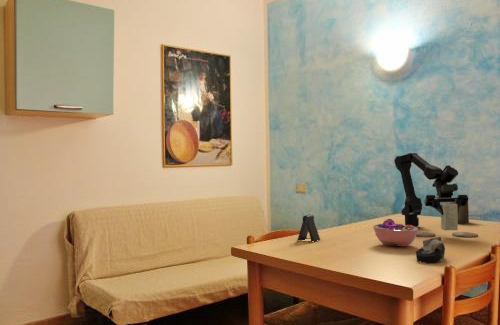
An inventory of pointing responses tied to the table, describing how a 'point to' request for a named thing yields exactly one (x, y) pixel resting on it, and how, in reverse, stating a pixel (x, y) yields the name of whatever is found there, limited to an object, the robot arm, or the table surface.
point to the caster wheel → (431, 251)
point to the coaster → (424, 234)
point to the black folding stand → (308, 229)
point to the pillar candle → (463, 214)
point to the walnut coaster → (465, 234)
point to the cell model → (395, 233)
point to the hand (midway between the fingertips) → (450, 214)
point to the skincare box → (449, 217)
